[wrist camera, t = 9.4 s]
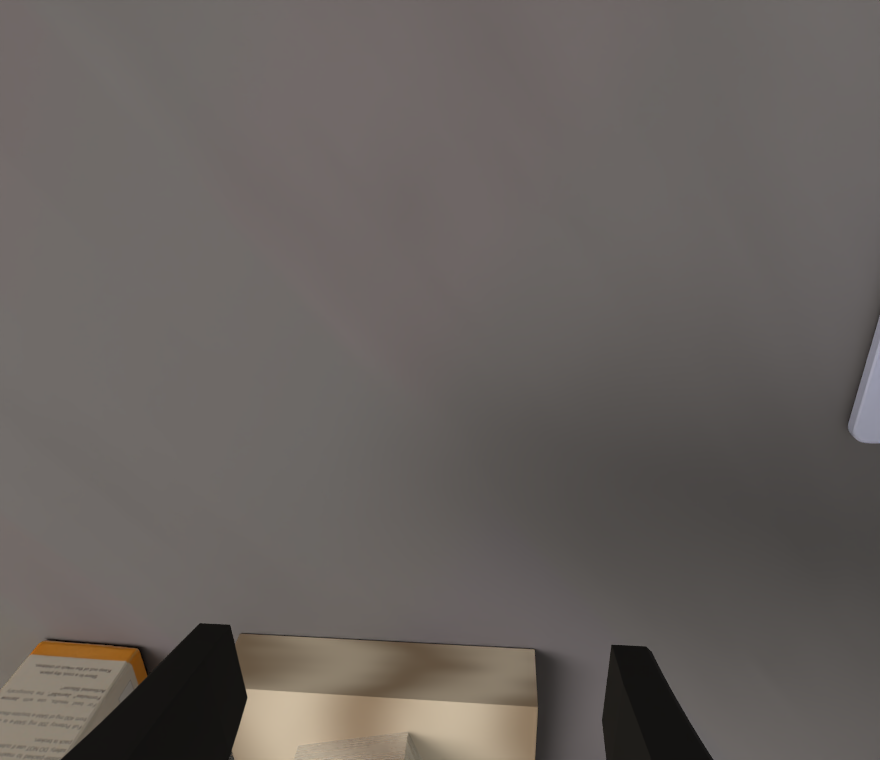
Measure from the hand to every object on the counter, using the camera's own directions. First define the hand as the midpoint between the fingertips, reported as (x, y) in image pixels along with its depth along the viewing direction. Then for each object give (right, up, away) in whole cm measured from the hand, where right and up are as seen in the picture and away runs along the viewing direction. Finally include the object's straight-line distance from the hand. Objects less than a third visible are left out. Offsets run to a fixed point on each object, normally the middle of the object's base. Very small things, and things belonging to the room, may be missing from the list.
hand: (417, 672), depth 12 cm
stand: (-2, -10, +16) cm, 19 cm away
